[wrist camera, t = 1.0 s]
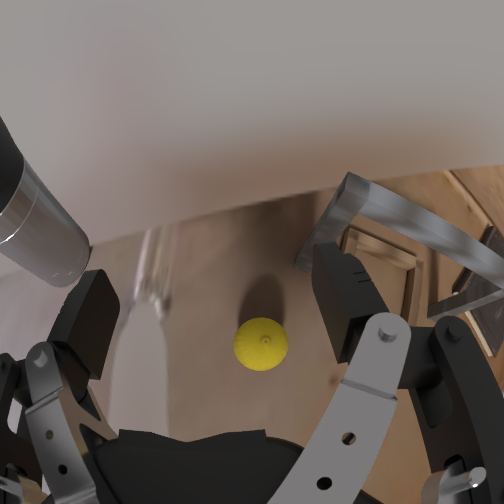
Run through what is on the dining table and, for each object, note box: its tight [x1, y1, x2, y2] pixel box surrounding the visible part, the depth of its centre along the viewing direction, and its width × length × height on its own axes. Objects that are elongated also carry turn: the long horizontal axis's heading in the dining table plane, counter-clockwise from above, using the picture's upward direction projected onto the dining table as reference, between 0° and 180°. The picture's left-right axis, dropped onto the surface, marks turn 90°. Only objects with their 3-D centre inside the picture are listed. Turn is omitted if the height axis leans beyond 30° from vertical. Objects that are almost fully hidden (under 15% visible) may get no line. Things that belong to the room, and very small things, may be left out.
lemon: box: [233, 317, 288, 371], centre depth 27 cm, size 6×6×8 cm
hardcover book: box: [452, 226, 504, 358], centre depth 37 cm, size 16×23×2 cm
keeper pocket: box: [294, 172, 504, 327], centre depth 27 cm, size 24×12×17 cm, turn 70°
